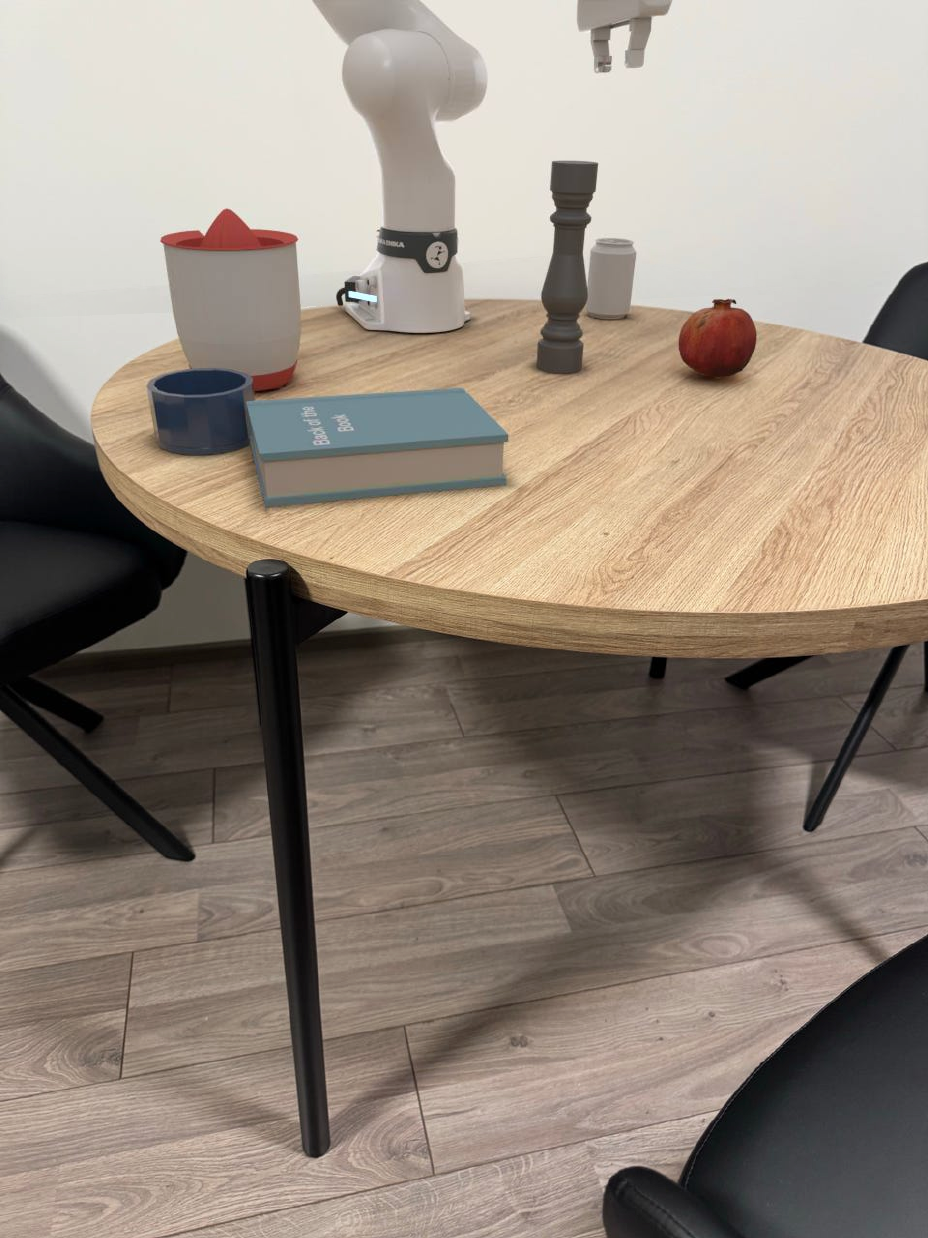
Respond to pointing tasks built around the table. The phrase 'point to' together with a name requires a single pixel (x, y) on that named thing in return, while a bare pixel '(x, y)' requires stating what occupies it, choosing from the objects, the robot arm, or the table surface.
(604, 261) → the can
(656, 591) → the table surface
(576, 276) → the candle holder
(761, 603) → the table surface
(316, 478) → the book
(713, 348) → the fruit
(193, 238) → the citrus juicer
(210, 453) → the socket cup
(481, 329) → the table surface
